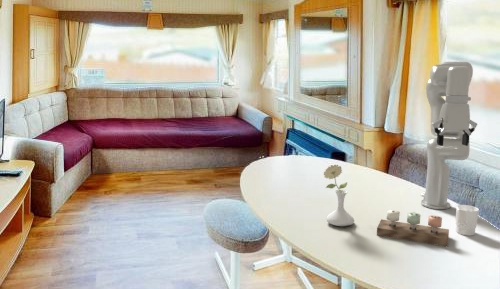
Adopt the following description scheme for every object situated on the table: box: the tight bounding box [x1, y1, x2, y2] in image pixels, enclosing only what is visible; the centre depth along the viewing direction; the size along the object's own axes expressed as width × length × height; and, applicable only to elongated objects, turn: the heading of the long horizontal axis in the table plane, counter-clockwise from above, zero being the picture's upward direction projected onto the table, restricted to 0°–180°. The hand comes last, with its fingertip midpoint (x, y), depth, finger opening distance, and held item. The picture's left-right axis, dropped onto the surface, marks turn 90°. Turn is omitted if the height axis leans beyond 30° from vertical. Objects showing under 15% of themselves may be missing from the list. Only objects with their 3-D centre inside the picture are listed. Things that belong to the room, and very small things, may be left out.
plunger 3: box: [427, 215, 443, 233], centre depth 163 cm, size 5×5×7 cm
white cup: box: [455, 204, 480, 237], centre depth 170 cm, size 8×8×10 cm
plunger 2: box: [406, 212, 421, 230], centre depth 166 cm, size 5×5×7 cm
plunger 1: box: [386, 209, 401, 227], centre depth 169 cm, size 5×5×7 cm
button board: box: [376, 218, 450, 247], centre depth 167 cm, size 25×10×3 cm, turn 65°
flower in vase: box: [323, 164, 355, 227], centre depth 177 cm, size 13×11×25 cm
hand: (452, 145), depth 166 cm, fingers open, 9 cm apart
